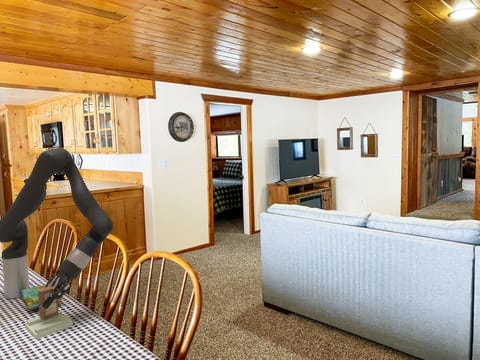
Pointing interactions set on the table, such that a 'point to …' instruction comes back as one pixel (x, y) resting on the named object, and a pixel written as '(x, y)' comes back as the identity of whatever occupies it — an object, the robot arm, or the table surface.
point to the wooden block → (52, 309)
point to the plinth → (48, 325)
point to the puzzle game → (32, 297)
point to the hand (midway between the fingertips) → (42, 305)
